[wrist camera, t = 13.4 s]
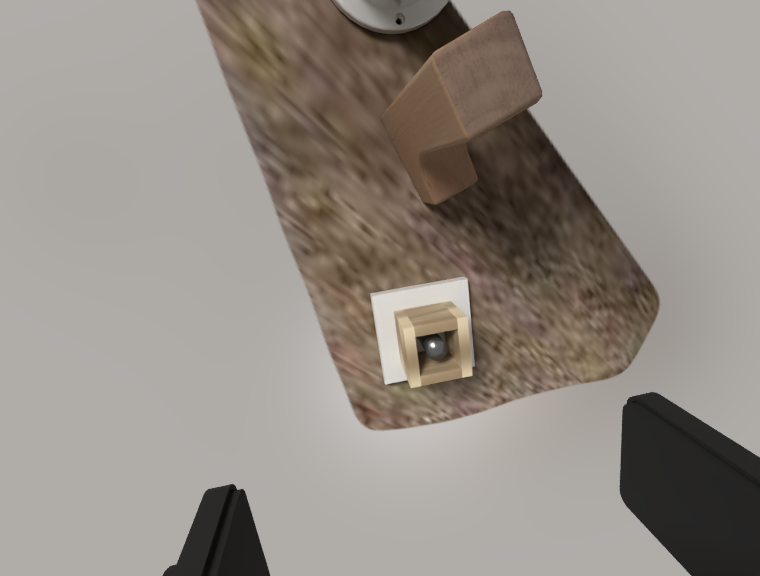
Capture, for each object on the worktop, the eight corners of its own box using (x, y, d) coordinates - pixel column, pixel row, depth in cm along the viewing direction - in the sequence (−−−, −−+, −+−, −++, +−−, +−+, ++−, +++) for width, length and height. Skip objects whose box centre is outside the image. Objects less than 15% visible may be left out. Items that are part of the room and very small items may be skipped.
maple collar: (393, 311, 39) (403, 328, 34) (450, 300, 40) (467, 316, 35) (400, 364, 41) (411, 388, 36) (455, 353, 41) (472, 375, 37)
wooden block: (463, 181, 38) (578, 178, 21) (423, 204, 38) (505, 222, 21) (420, 91, 35) (513, 3, 18) (378, 117, 35) (429, 53, 18)
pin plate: (370, 293, 39) (377, 310, 34) (464, 276, 40) (484, 290, 35) (383, 380, 42) (392, 408, 37) (471, 362, 43) (491, 387, 38)
